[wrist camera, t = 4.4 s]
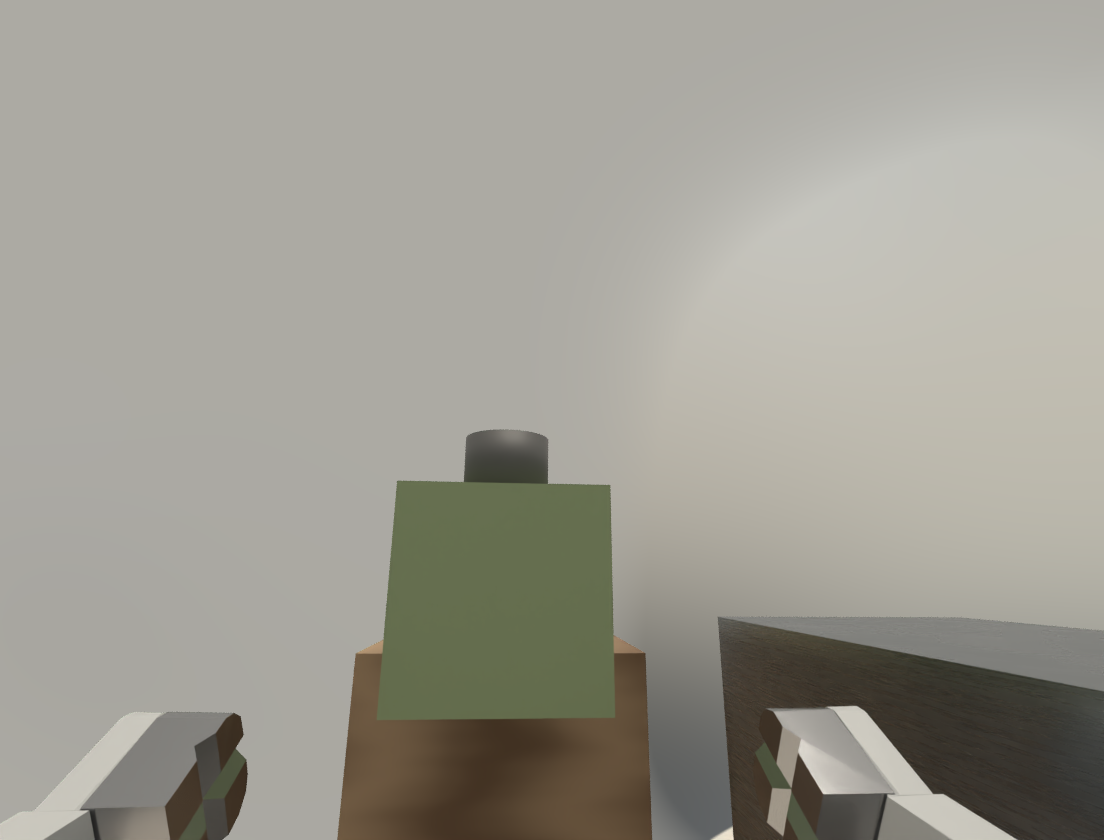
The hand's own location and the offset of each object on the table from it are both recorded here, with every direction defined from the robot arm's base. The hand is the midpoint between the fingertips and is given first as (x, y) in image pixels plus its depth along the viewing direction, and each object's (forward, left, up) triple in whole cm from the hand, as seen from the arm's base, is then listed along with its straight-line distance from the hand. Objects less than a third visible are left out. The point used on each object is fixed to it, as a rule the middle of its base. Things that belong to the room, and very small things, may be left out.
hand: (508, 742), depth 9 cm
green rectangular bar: (0, +10, 0) cm, 10 cm away
